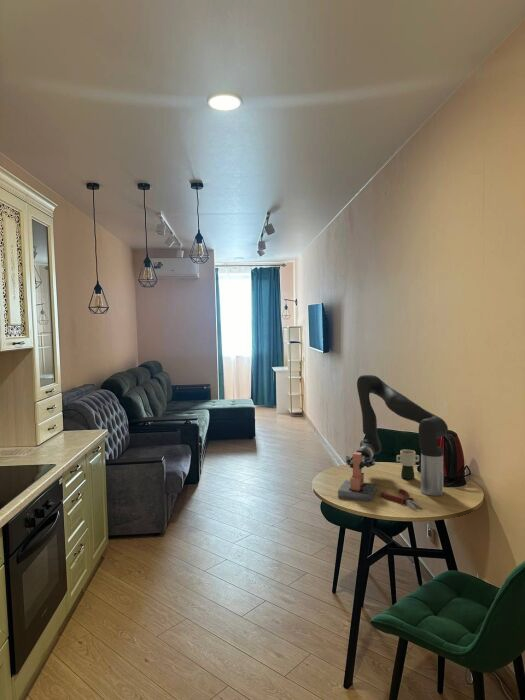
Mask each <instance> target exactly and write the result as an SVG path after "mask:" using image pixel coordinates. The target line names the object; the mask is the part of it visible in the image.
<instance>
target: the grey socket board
mask: <svg viewBox="0 0 525 700" xmlns="http://www.w3.org/2000/svg"><path fill="white" fill-rule="evenodd" d="M341 484H342V485H340V487H339V489H338V490H337V497H338V498H341V497H344V498H343V499H348V498H349V500H355V499H357V500H356V501H362V500H363V501H364V502H369V501H371V502H372V500H373V498H374V496H375V494H376V492H377V483H370V482H364V484H363V485H360V491H357V490H350V480H348V479H345V481H344V482H343V483H341Z"/></svg>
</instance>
